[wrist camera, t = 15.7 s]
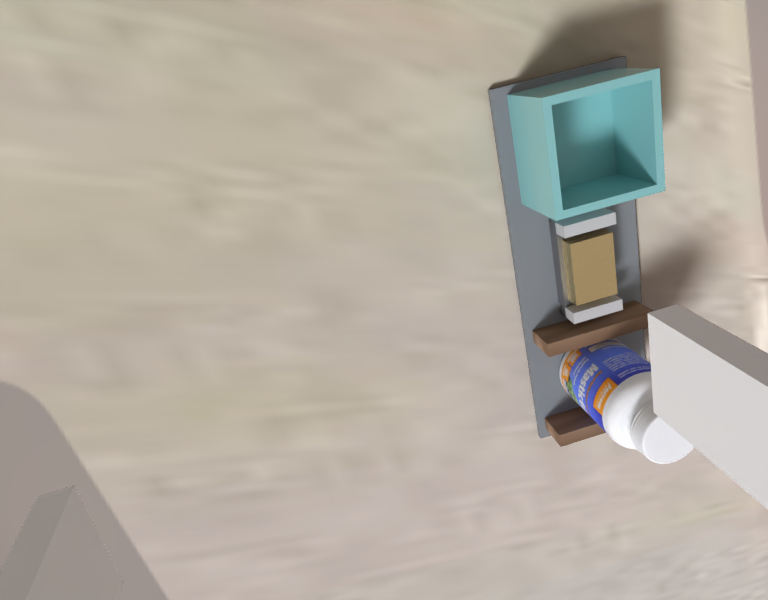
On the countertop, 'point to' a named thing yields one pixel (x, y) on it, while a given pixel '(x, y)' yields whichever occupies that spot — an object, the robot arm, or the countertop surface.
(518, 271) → the mat
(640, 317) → the trough
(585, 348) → the pill bottle
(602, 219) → the cradle base
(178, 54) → the countertop surface
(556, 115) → the teal open box
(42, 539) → the robot arm
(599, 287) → the pad
